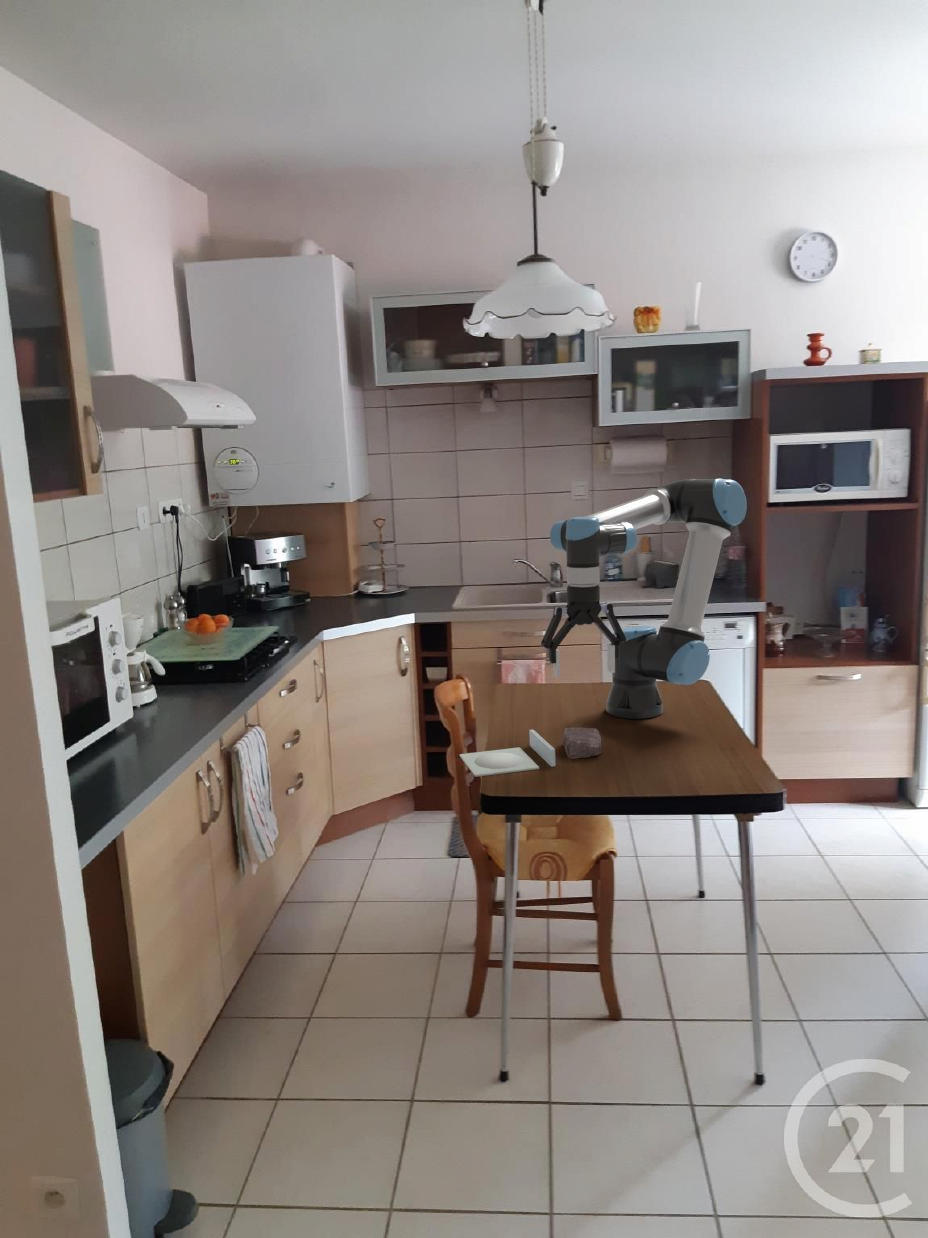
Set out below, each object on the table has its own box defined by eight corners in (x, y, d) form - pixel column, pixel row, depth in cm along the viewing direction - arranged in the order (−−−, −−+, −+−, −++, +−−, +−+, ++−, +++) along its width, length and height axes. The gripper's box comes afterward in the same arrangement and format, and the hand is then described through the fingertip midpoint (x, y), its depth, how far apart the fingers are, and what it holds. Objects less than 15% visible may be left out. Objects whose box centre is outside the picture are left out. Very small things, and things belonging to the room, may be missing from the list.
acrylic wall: (533, 745, 226) (533, 729, 225) (555, 766, 210) (555, 749, 210) (529, 745, 225) (529, 730, 225) (551, 766, 210) (550, 749, 209)
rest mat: (519, 749, 223) (519, 747, 223) (539, 768, 209) (539, 766, 209) (459, 756, 220) (459, 754, 220) (475, 776, 206) (475, 774, 205)
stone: (603, 759, 214) (603, 739, 213) (564, 760, 215) (563, 741, 214) (599, 743, 226) (599, 724, 225) (562, 744, 227) (561, 725, 226)
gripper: (626, 579, 220) (627, 666, 223) (526, 585, 214) (528, 675, 218) (640, 583, 212) (640, 672, 216) (536, 590, 207) (538, 682, 210)
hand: (584, 674), depth 217 cm, fingers open, 13 cm apart
